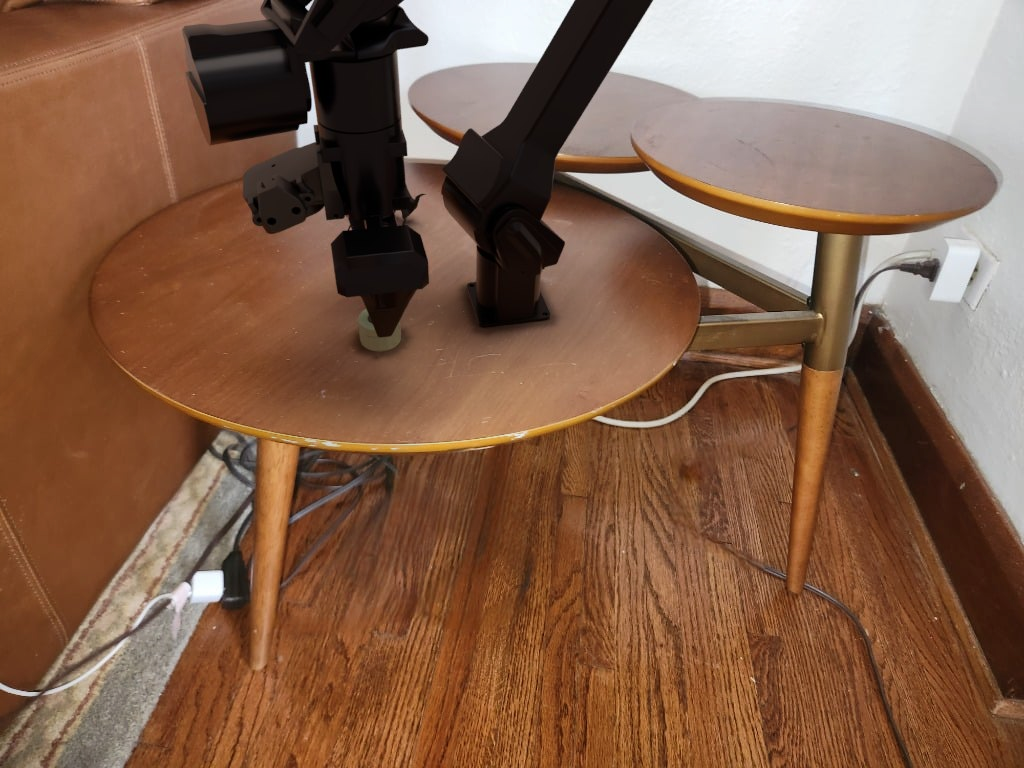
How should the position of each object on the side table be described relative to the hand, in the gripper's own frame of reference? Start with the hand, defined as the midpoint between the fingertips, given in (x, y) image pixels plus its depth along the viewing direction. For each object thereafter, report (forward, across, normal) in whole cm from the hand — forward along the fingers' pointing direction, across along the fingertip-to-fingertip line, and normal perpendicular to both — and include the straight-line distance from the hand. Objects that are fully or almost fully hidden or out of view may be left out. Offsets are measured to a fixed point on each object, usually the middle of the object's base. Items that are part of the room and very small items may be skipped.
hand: (378, 301), depth 64 cm
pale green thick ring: (+4, 0, 0) cm, 4 cm away
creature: (+4, -18, +2) cm, 19 cm away
